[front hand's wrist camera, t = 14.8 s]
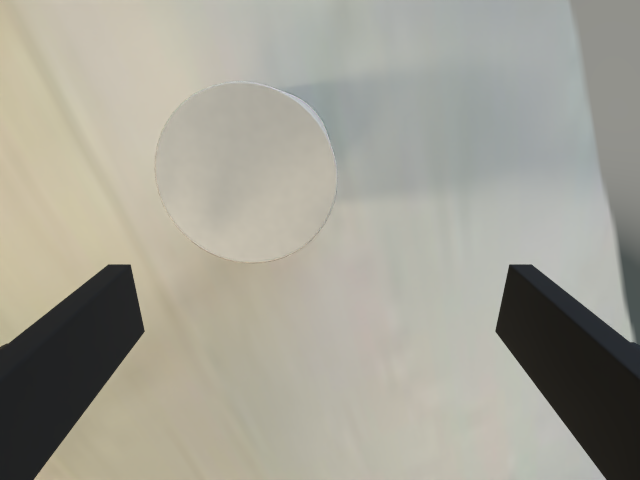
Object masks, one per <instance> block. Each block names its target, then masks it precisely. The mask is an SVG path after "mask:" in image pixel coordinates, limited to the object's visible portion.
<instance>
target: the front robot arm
mask: <svg viewBox="0 0 640 480" xmlns="http://www.w3.org/2000/svg"><path fill="white" fill-rule="evenodd" d="M144 332H145V331H144V326H143V321H142V317H141V312H140V307H139V302H138V298H137V293H136V288H135V283H134V279H133V274H132V269H131V265H107V266H106V267H105V268H104V269H102V270H101V271H100V272H98V273H97V274H96V275H95V276H93V277H92V278H91V279H90V280H88V281H87V282H86V283H85V284H83V285H82V286H81V287H79V288H78V289H77V290H76V291H74V292H73V293H72V294H71V295H69V296H68V297H67V298H66V299H64V300H63V301H62V302H60V303H59V304H58V305H57V306H55V307H54V308H53V309H52V310H50V311H49V312H48V313H47V314H45V315H44V316H43V317H42V318H40V319H39V320H38V321H36V322H35V323H34V324H33V325H31V326H30V327H29V328H28V329H26V330H25V331H24V332H23V333H21V334H20V335H19V336H17V337H16V338H15V339H14V340H12V341H11V342H10V343H9V344H5V345H3V346H1V347H0V480H34V478H35V477H36V476H37V474H38V473H39V472H40V470H41V469H42V468H43V466H44V465H45V464H46V462H47V461H48V460H49V458H50V457H51V456H52V454H53V453H54V452H55V450H56V449H57V448H58V446H59V445H60V444H61V442H62V441H63V440H64V438H65V437H66V436H67V434H68V433H69V432H70V430H71V429H72V428H73V426H74V425H75V424H76V422H77V421H78V420H79V418H80V417H81V416H82V414H83V413H84V412H85V410H86V409H87V408H88V406H89V405H90V404H91V402H92V401H93V400H94V398H95V397H96V396H97V394H98V393H99V392H100V390H101V389H102V388H103V386H104V385H105V384H106V382H107V381H108V380H109V378H110V377H111V376H112V374H113V373H114V372H115V370H116V369H117V368H118V366H119V365H120V364H121V362H122V361H123V360H124V358H125V357H126V356H127V354H128V353H129V352H130V350H131V349H132V348H133V346H134V345H135V344H136V342H137V341H138V340H139V338H140V337H141V336H142V334H143V333H144ZM495 332H496V333H497V334H498V336H499V337H500V338H501V340H502V341H503V342H504V344H505V345H506V346H507V348H508V349H509V350H510V352H511V353H512V354H513V356H514V357H515V358H516V360H517V361H518V362H519V364H520V365H521V366H522V368H523V369H524V370H525V372H526V373H527V374H528V376H529V377H530V378H531V380H532V381H533V382H534V384H535V385H536V386H537V388H538V389H539V390H540V392H541V393H542V394H543V396H544V397H545V398H546V400H547V401H548V402H549V404H550V405H551V406H552V408H553V409H554V410H555V412H556V413H557V414H558V416H559V417H560V418H561V420H562V421H563V422H564V424H565V425H566V426H567V428H568V429H569V430H570V432H571V433H572V434H573V436H574V437H575V438H576V440H577V441H578V442H579V444H580V445H581V446H582V448H583V449H584V450H585V452H586V453H587V454H588V456H589V457H590V458H591V460H592V461H593V462H594V464H595V465H596V466H597V468H598V469H599V470H600V472H601V473H602V474H603V476H604V477H605V478H606V480H640V345H638V344H636V343H634V342H629V341H628V340H626V339H625V338H624V337H623V336H621V335H620V334H619V333H617V332H616V331H615V330H614V329H612V328H611V327H610V326H609V325H607V324H606V323H605V322H604V321H602V320H601V319H600V318H598V317H597V316H596V315H595V314H593V313H592V312H591V311H590V310H588V309H587V308H586V307H585V306H583V305H582V304H581V303H580V302H578V301H577V300H576V299H574V298H573V297H572V296H571V295H569V294H568V293H567V292H566V291H564V290H563V289H562V288H561V287H559V286H558V285H557V284H555V283H554V282H553V281H552V280H550V279H549V278H548V277H547V276H545V275H544V274H543V273H542V272H540V271H539V270H538V269H536V268H535V267H534V266H533V265H509V269H508V274H507V279H506V283H505V288H504V293H503V298H502V302H501V307H500V312H499V317H498V321H497V326H496V331H495Z"/></svg>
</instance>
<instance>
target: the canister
mask: <svg viewBox="0 0 640 480" xmlns="http://www.w3.org/2000/svg"><path fill="white" fill-rule="evenodd" d="M155 176H156V183H157V188H158V192H159V195H160V198H161V200H162V203H163V205H164V207H165V209H166V211H167V213H168V215H169V216H170V218H171V219H172V221H173V222H174V224H175V225H176V226H177V227H178V229H179V230H180V231H181V232H182V233H183V234H184V235H185V236H186V237H187V238H188V239H189V240H191V241H192V242H193V243H195V244H196V245H197V246H199V247H200V248H202V249H204V250H205V251H207V252H209V253H211V254H213V255H215V256H218V257H220V258H223V259H227V260H230V261H235V262H241V263H263V262H269V261H274V260H277V259H280V258H284V257H286V256H288V255H290V254H292V253H295V252H296V251H298V250H299V249H301V248H302V247H304V246H305V245H306V244H307V243H309V242H310V241H311V240H312V239H313V238H314V237H315V236H316V235H317V234H318V233H319V231H320V230H321V229H322V227H323V226H324V224H325V223H326V221H327V219H328V217H329V215H330V213H331V210H332V207H333V205H334V201H335V197H336V192H337V181H338V178H337V165H336V160H335V155H334V152H333V149H332V146H331V143H330V140H329V137H328V134H327V131H326V128H325V126H324V124H323V122H322V120H321V119H320V117H319V116H318V114H317V113H316V112H315V111H314V110H313V108H311V107H310V106H309V105H308V104H307V103H306V102H304V101H303V100H301V99H300V98H298V97H296V96H294V95H291V94H289V93H286V92H284V91H281V90H278V89H276V88H273V87H270V86H267V85H264V84H259V83H254V82H243V81H236V82H225V83H221V84H216V85H213V86H210V87H208V88H205V89H202V90H201V91H199V92H197V93H195V94H194V95H192V96H190V97H189V98H188V99H187V100H185V101H184V102H183V103H182V104H181V105H180V106H179V107H178V108H177V109H176V110H175V111H174V112H173V113H172V115H171V116H170V118H169V119H168V121H167V122H166V124H165V126H164V128H163V130H162V132H161V135H160V138H159V141H158V144H157V149H156V155H155Z"/></svg>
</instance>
